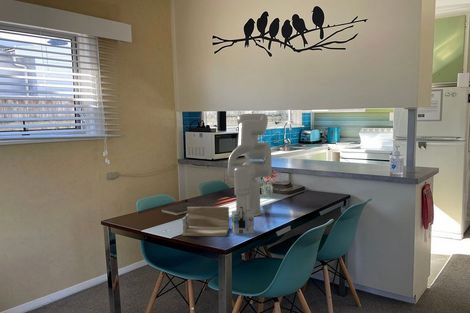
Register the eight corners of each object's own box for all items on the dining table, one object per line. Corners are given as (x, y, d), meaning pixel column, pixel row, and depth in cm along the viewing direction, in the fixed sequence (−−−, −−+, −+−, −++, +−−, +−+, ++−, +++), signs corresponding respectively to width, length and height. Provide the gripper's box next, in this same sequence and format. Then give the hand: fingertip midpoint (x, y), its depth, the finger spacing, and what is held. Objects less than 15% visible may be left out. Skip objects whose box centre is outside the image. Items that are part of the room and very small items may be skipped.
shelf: (188, 227, 221) (187, 206, 219) (229, 228, 218) (228, 206, 217) (182, 235, 207) (181, 213, 205) (225, 236, 204) (224, 213, 203)
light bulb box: (234, 235, 206) (233, 213, 205) (231, 231, 212) (231, 210, 211) (254, 233, 208) (254, 212, 206) (251, 229, 214) (251, 209, 213)
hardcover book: (204, 208, 265) (204, 205, 264) (176, 216, 248) (176, 212, 248) (188, 205, 275) (188, 202, 275) (160, 212, 259) (160, 208, 258)
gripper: (236, 188, 217) (237, 220, 219) (232, 195, 200) (233, 230, 201) (250, 188, 216) (251, 220, 218) (247, 195, 199) (248, 230, 201)
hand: (242, 225), depth 210 cm, fingers closed on light bulb box, 8 cm apart
